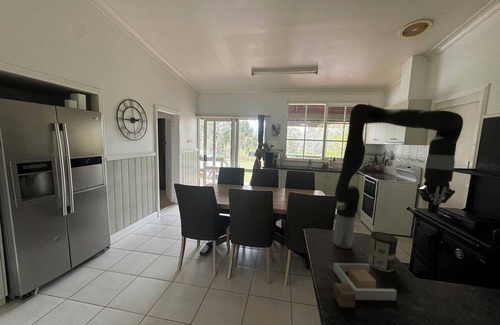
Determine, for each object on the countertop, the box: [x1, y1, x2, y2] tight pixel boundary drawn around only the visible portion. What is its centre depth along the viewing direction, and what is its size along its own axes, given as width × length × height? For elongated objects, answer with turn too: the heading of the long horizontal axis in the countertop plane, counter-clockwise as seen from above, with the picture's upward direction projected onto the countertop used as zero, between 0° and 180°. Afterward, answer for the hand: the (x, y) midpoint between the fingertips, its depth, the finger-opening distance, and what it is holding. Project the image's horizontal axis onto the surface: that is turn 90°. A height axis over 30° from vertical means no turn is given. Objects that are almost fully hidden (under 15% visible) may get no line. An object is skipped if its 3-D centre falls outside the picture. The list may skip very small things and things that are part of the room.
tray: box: [332, 262, 398, 301], centre depth 80 cm, size 16×15×4 cm
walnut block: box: [332, 282, 356, 308], centre depth 71 cm, size 5×5×5 cm
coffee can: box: [367, 231, 398, 273], centre depth 94 cm, size 10×10×14 cm
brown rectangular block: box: [347, 269, 377, 289], centre depth 81 cm, size 7×7×4 cm
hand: (432, 213), depth 75 cm, fingers closed
